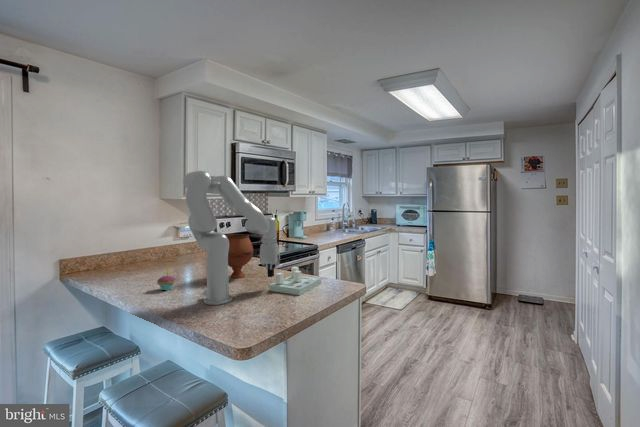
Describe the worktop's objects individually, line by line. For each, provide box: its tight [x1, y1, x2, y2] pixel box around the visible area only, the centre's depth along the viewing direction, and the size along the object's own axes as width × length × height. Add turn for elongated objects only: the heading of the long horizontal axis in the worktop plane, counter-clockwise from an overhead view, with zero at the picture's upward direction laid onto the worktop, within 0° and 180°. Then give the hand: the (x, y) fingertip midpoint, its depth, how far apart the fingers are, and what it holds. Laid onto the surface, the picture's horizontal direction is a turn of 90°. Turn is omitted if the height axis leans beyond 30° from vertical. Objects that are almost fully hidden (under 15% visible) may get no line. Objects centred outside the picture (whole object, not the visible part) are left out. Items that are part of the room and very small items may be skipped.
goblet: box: [225, 233, 254, 280], centre depth 194 cm, size 19×19×25 cm
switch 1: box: [274, 272, 285, 284], centre depth 167 cm, size 3×3×5 cm
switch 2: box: [290, 266, 300, 277], centre depth 180 cm, size 3×3×5 cm
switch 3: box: [293, 270, 302, 282], centre depth 171 cm, size 3×3×5 cm
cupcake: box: [156, 266, 176, 291], centre depth 170 cm, size 9×8×12 cm
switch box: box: [268, 275, 322, 296], centre depth 172 cm, size 18×22×3 cm
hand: (270, 276), depth 170 cm, fingers closed
